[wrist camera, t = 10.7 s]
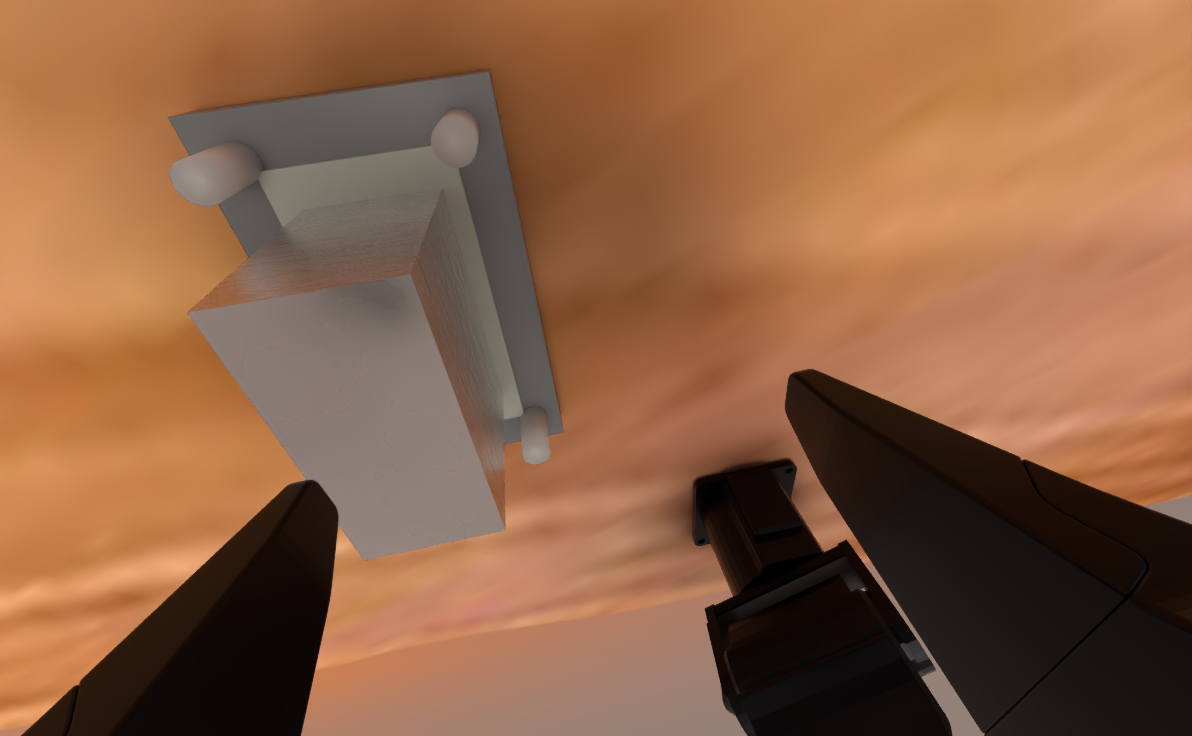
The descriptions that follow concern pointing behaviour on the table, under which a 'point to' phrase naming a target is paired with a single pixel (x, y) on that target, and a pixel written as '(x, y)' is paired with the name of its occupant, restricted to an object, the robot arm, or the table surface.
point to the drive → (371, 368)
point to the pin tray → (385, 168)
